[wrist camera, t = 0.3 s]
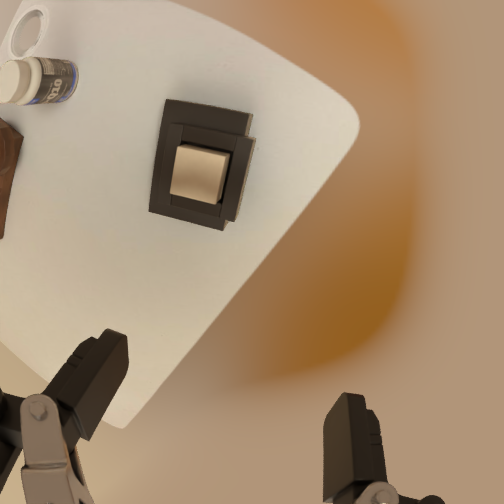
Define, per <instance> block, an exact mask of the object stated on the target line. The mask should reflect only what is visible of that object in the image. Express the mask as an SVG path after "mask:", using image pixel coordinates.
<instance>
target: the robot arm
mask: <svg viewBox="0 0 504 504" xmlns="http://www.w3.org/2000/svg"><path fill="white" fill-rule="evenodd" d="M128 365H129V358H128V343H127V336H126V335H124V334H121V333H119V332H116V331H114V330H111V329H106V330H105V331H104V332H103V333H102V334H101V336H100V337H99V338H98V339H96V338H94V337H90V338H88V339H87V340H85V341H83V342H82V343H80V344H79V346H78V347H77V348H76V349H75V351H74V352H73V354H72V355H71V356H70V357H69V358H68V360H67V362H66V363H65V364H64V365H63V366H62V367H61V369H60V370H59V371H58V373H57V374H56V375H55V377H54V378H53V379H52V381H51V382H50V383H49V385H48V386H47V388H46V389H45V390H44V391H43V392H42V393H41V394H33V395H30V396H28V397H27V398H22V397H17V396H14V395H10V394H7V393H3V392H2V390H1V388H0V493H1V491H2V489H3V487H4V485H5V483H6V481H7V478H8V476H9V474H10V472H11V470H12V468H13V466H14V464H15V462H16V460H17V458H18V456H19V455H20V453H21V451H22V449H23V450H24V458H25V465H24V466H23V467H22V468H21V478H22V484H23V489H24V494H25V498H26V503H27V504H94V501H93V499H92V497H91V495H90V493H89V491H88V489H87V485H86V482H85V479H84V475H83V471H82V468H81V464H80V460H79V456H78V452H77V447H76V444H77V442H78V440H79V438H80V437H81V438H83V439H85V440H87V441H89V440H90V439H91V437H92V435H93V433H94V431H95V429H96V427H97V426H98V424H99V422H100V420H101V418H102V417H103V415H104V413H105V411H106V409H107V408H108V406H109V404H110V402H111V400H112V399H113V397H114V395H115V393H116V392H117V390H118V388H119V386H120V385H121V383H122V381H123V379H124V378H125V376H126V373H127V370H128ZM380 433H381V431H380V425H379V420H378V419H377V417H376V415H375V414H374V412H373V411H372V410H367V409H366V403H365V398H364V396H363V395H359V394H352V393H345V392H344V393H342V394H341V396H340V397H339V398H338V400H337V401H336V403H335V404H334V406H333V407H332V408H331V410H330V411H329V413H328V414H327V416H326V418H325V422H324V426H323V437H324V438H323V442H324V444H323V446H324V471H323V472H324V475H323V502H328V503H329V502H330V503H333V504H445V503H444V501H443V500H442V499H441V498H440V497H438V496H435V495H429V496H426V497H425V498H423V499H421V500H417V499H413V498H409V497H405V496H401V495H399V494H398V493H397V491H396V489H395V488H394V487H393V486H392V485H390V484H389V483H388V481H387V475H386V467H385V459H384V451H383V445H382V437H381V436H380Z"/></svg>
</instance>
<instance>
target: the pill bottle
mask: <svg viewBox="0 0 504 504" xmlns="http://www.w3.org/2000/svg"><path fill="white" fill-rule="evenodd" d="M77 81H78V71H77V68H76V66H75V64H74V63H73V62H71V61H68V60H60V59H50V58H40V57H27V58H24V59H22V60H10V61H7V62H6V63H5V64H4V65H3V66H2V67H1V69H0V103H15V104H16V105H30V104H42V103H57V102H62V101H64V100H66V99H67V98H69V97H70V95H71V94H72V93H73V92H74V90H75V88H76V85H77Z"/></svg>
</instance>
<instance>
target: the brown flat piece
mask: <svg viewBox="0 0 504 504" xmlns="http://www.w3.org/2000/svg"><path fill="white" fill-rule="evenodd" d="M23 138H24V137H23V136H22V135H21V134H20V133H18V132H17V131H16V130H15V129H13V128H12V127H11V126H10V125H8V124H7V123H6V122H5V121H3V120H2V119H1V118H0V239H2V238H3V235H4V227H5V220H6V213H7V207H8V201H9V196H10V190H11V185H12V181H13V176H14V172H15V167H16V163H17V159H18V155H19V152H20V148H21V144H22V141H23Z"/></svg>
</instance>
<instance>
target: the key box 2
mask: <svg viewBox="0 0 504 504" xmlns="http://www.w3.org/2000/svg"><path fill="white" fill-rule="evenodd" d="M252 117H253V114H250V113H245V112H241V111H236V110H231V109H226V108H221V107H215V106H210V105H204V104H198V103H192V102H186V101H179V100H170V99H166V102H165V106H164V111H163V117H162V122H161V127H160V133H159V139H158V145H157V151H156V157H155V164H154V171H153V178H152V186H151V194H150V202H149V212H152V213H156V214H160V215H164V216H168V217H171V218H175V219H179V220H183V221H187V222H191V223H194V224H198V225H202V226H206V227H209V228H213V229H217V230H221V231H223V230H224V228H225V227H226V225H227V223H228V221H232V222H234V221H235V220H236V218H237V216H238V213H239V209H240V205H241V200H242V196H243V192H244V188H245V184H246V179H247V175H248V171H249V167H250V163H251V159H252V154H253V150H254V146H255V142H256V138H253V137H249V136H248V134H249V130H250V126H251V121H252ZM185 144H187V145H192V146H197V147H202V148H207V149H212V150H216V151H221V152H225V153H229V154H230V158H229V163H228V167H227V172H226V176H225V181H224V186H223V190H222V195H221V199H220V200H219V201H218V202H217V203H216V204H211V203H207V202H203V201H199V200H195V199H191V198H187V197H183V196H179V195H174V194H171V193H170V188H171V182H172V176H173V169H174V163H175V158H176V152H177V147H178V146H181V145H185Z"/></svg>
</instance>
